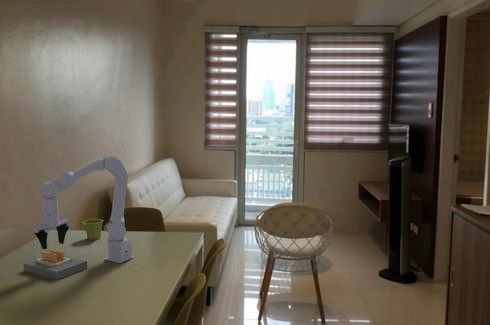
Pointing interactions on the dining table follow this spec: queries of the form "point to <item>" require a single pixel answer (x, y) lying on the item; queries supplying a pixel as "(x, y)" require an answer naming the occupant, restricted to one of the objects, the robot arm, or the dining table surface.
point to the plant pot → (93, 228)
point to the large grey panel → (55, 267)
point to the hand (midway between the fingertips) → (53, 246)
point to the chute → (53, 256)
